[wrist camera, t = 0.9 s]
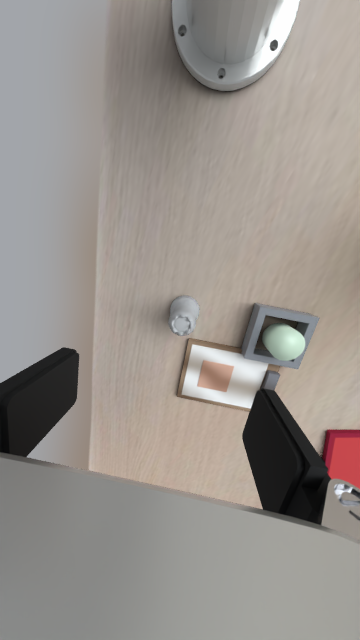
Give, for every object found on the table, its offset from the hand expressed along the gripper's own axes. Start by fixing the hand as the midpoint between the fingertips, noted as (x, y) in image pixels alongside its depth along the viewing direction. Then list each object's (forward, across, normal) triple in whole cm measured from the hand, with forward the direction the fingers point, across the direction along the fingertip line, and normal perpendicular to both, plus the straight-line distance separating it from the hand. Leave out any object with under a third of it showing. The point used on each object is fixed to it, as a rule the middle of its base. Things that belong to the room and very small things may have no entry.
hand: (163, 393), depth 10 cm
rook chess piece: (+20, 0, -1) cm, 21 cm away
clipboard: (+21, -9, +9) cm, 24 cm away
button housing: (+20, -14, 0) cm, 25 cm away
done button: (+19, -14, 0) cm, 23 cm away
